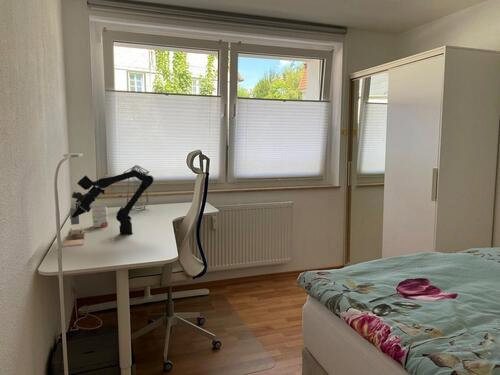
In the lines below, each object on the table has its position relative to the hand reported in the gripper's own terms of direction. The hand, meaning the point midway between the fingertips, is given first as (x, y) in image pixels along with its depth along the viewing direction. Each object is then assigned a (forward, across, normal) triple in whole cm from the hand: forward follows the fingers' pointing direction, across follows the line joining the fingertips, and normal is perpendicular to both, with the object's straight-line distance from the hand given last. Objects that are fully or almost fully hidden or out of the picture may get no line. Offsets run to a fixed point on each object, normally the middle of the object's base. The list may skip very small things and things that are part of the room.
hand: (72, 216), depth 208 cm
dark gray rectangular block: (+2, 0, +4) cm, 4 cm away
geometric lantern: (-29, -64, +47) cm, 85 cm away
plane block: (+8, -2, +10) cm, 13 cm away
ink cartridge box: (-4, -22, +22) cm, 32 cm away
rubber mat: (+10, +12, +8) cm, 17 cm away
